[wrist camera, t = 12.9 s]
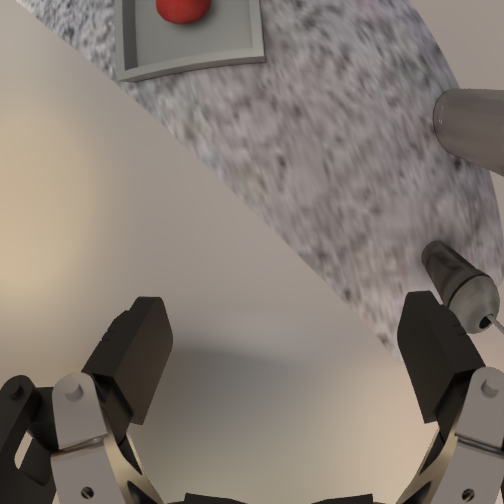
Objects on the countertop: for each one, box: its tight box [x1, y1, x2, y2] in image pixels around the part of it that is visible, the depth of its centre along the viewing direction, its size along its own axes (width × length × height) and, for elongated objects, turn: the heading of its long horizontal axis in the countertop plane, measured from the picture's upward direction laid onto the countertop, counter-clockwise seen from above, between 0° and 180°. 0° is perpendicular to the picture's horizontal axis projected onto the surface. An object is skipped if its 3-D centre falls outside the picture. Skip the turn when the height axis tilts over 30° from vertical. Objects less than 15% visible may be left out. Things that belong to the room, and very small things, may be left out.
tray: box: [115, 0, 266, 82], centre depth 24 cm, size 16×16×4 cm
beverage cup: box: [422, 241, 504, 334], centre depth 29 cm, size 7×7×20 cm
